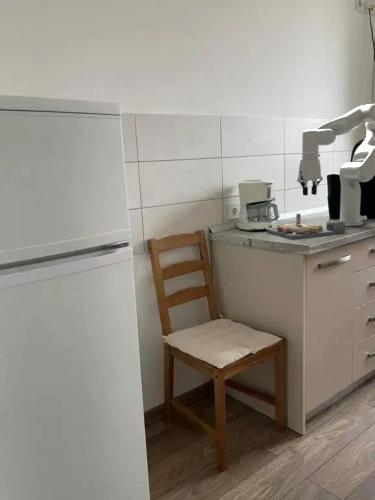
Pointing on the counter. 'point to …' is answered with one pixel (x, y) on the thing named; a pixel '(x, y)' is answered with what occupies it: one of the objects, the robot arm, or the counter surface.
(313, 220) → the counter surface
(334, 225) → the grey block
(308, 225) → the sprocket disc
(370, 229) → the counter surface
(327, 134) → the robot arm
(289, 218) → the counter surface
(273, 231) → the sprocket base
